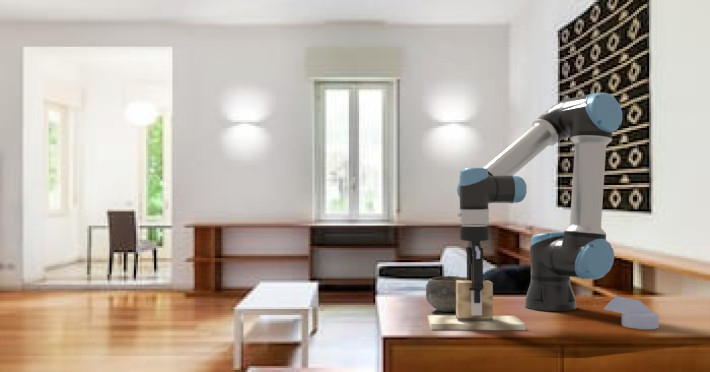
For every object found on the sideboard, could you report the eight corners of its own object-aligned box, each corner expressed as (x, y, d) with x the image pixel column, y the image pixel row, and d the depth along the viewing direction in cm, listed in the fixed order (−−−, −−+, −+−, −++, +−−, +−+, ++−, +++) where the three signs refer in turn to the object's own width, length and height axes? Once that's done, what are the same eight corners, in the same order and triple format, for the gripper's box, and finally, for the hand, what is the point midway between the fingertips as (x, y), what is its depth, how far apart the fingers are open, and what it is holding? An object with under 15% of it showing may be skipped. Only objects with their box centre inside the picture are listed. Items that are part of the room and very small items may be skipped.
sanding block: (489, 317, 169) (489, 280, 169) (492, 321, 164) (492, 283, 164) (456, 317, 169) (455, 280, 170) (458, 321, 164) (458, 282, 165)
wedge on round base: (603, 321, 172) (640, 330, 160) (602, 296, 173) (640, 304, 161) (628, 319, 176) (666, 327, 164) (627, 295, 176) (666, 302, 164)
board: (515, 321, 172) (515, 315, 172) (525, 330, 160) (525, 324, 160) (427, 320, 173) (427, 315, 173) (431, 329, 161) (431, 323, 161)
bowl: (484, 311, 188) (484, 277, 188) (453, 317, 177) (453, 282, 178) (446, 305, 198) (446, 273, 198) (415, 311, 187) (415, 278, 187)
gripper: (455, 224, 176) (456, 307, 176) (464, 227, 158) (465, 319, 158) (482, 224, 176) (483, 307, 176) (494, 226, 158) (495, 319, 158)
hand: (474, 313), depth 167 cm, fingers closed on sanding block, 5 cm apart
